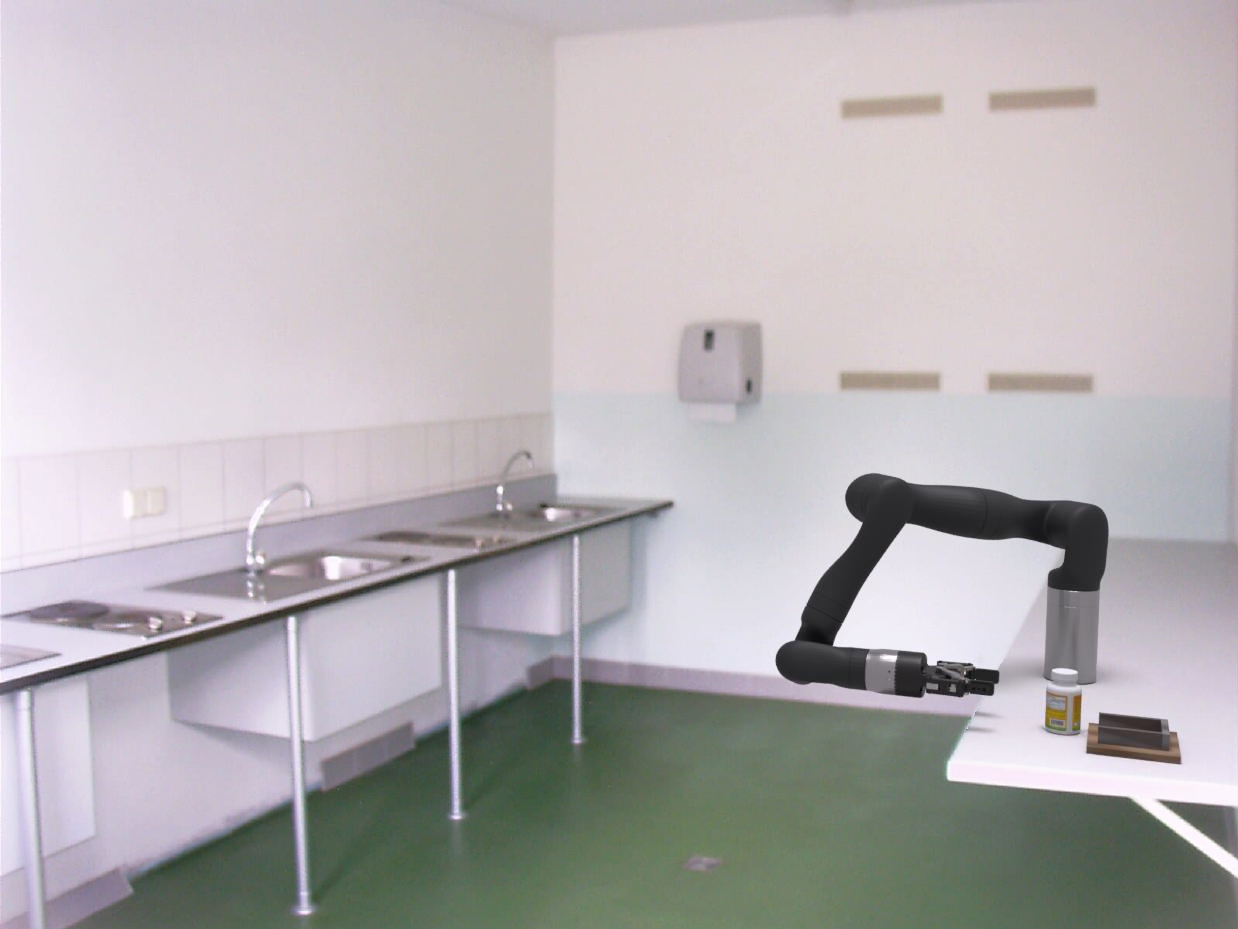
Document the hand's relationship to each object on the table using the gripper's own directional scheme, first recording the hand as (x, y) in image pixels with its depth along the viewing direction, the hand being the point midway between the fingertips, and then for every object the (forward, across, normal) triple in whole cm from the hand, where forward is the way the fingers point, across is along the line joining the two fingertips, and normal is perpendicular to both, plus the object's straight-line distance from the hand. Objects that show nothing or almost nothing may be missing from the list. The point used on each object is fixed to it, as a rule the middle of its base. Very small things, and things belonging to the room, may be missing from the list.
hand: (996, 683), depth 205 cm
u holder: (+20, -4, +7) cm, 22 cm away
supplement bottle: (+10, 0, +7) cm, 12 cm away
